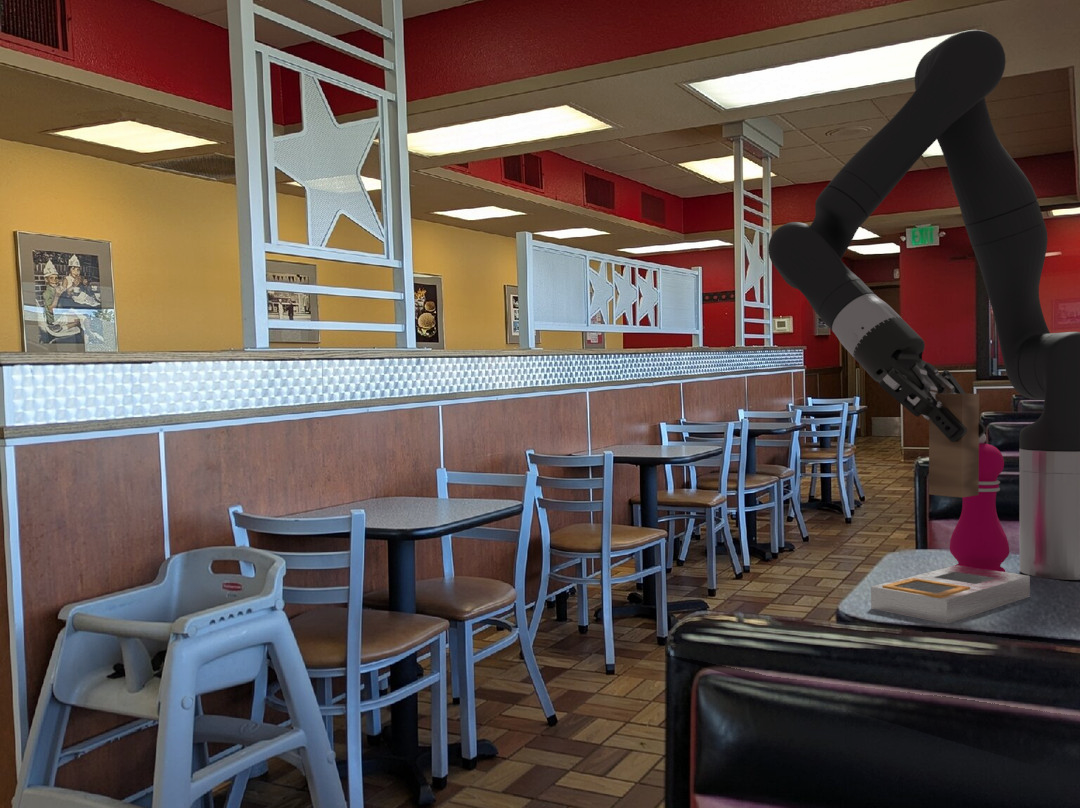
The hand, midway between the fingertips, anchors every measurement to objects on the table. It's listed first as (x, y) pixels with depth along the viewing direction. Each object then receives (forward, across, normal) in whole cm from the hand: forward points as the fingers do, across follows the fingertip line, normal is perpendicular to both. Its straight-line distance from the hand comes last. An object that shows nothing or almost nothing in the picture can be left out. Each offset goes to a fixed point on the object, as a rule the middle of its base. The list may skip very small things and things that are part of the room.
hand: (970, 436), depth 108 cm
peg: (+4, 0, +6) cm, 7 cm away
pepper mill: (+10, +16, +19) cm, 27 cm away
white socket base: (+13, -1, +15) cm, 20 cm away
